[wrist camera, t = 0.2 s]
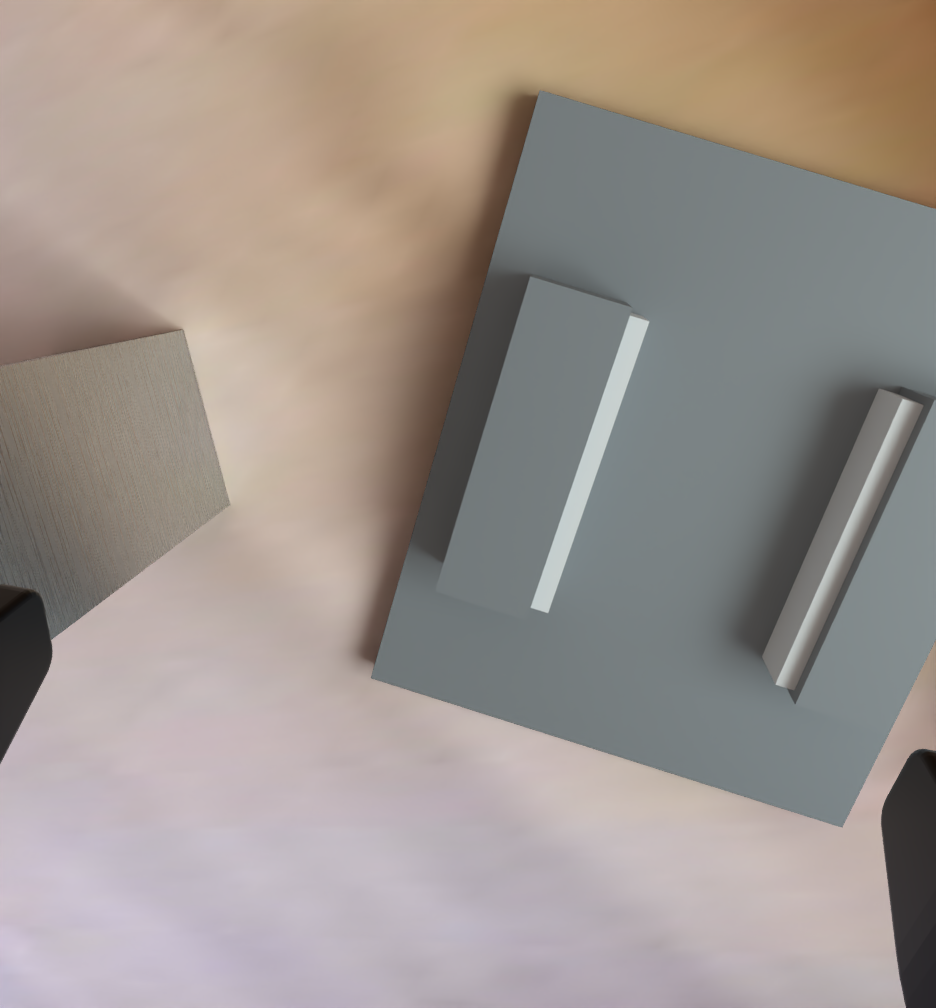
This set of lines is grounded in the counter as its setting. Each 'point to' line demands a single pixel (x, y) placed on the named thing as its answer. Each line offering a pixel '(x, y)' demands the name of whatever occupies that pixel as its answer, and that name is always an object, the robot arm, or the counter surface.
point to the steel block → (101, 469)
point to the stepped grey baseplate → (686, 466)
